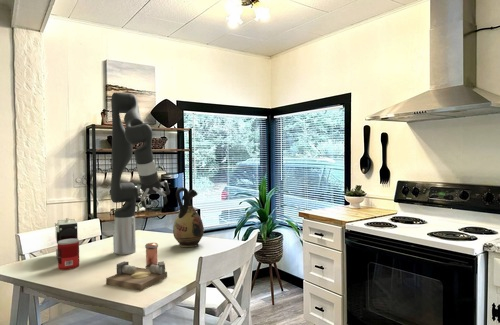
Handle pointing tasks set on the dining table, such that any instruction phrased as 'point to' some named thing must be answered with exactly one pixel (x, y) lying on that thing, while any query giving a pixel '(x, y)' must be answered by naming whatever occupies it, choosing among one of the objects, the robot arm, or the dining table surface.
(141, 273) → the shaft bench
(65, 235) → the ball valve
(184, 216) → the ceramic jug
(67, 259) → the canned food
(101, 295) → the dining table surface
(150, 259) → the sleeve
